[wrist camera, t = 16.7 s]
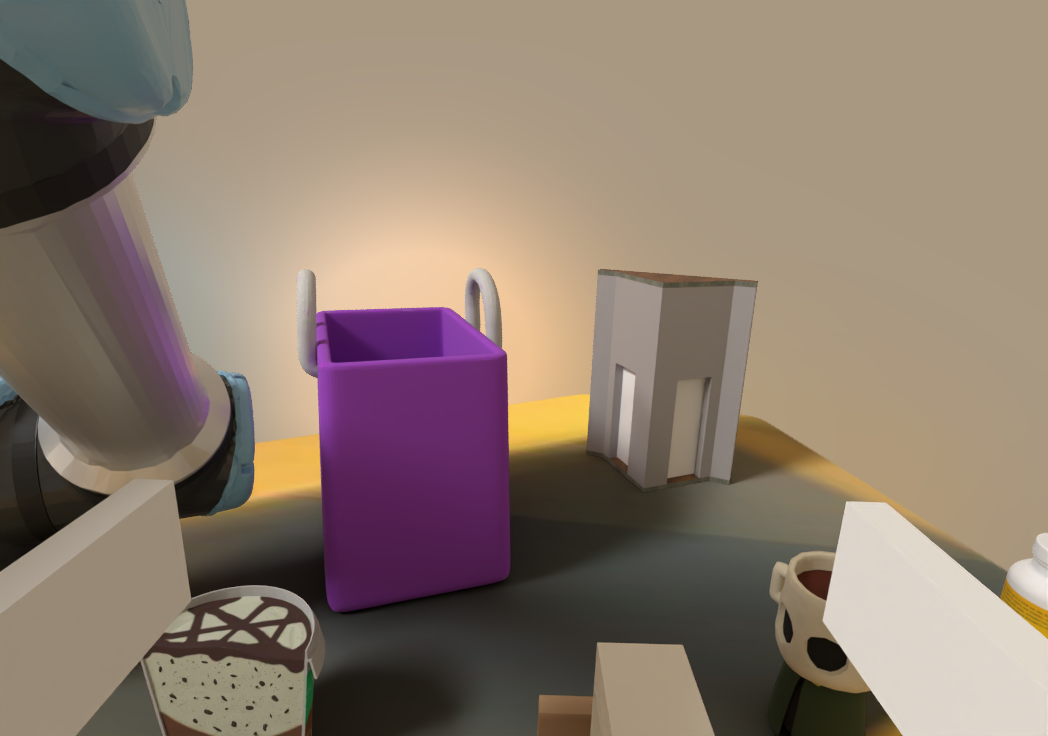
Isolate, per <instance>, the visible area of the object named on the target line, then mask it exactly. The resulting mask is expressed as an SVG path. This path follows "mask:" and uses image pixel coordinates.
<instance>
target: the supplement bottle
mask: <svg viewBox="0 0 1048 736" xmlns="http://www.w3.org/2000/svg"><path fill="white" fill-rule="evenodd" d="M1032 551H1033V556H1034V558H1033V559H1032V558H1031V559H1024V560H1020V561H1018V562H1016V563H1014V564H1013V565H1012V566H1011V567H1010V569H1009V570H1008V574H1007V577H1006V580H1005V583H1004V586H1003V590H1002V593H1001V596H1000V599H1001V600H1002V601H1003V602H1004V603H1006V604H1007V605H1008V606H1009V607H1010V608H1011V609H1013V610H1014V611H1015V612H1016V613H1017V614H1019V615H1020V616H1021V617H1022V618H1023V619H1025V620H1026V621H1027V622H1028V623H1029V624H1030V625H1032V626H1033V627H1034V628H1035V629H1036V630H1038V631H1039V632H1040V633H1041V634H1042V635H1044V636H1045V637H1046V638H1047V639H1048V533H1043V534H1040V535H1038V536H1037V537H1036V540H1035V543H1034V545H1033V548H1032Z"/></svg>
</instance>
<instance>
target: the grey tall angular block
mask: <svg viewBox="0 0 1048 736" xmlns="http://www.w3.org/2000/svg"><path fill="white" fill-rule="evenodd" d="M757 283H758V281H750V280H737V279H724V278H723V279H722V278H711V277H698V276H685V275H672V274H659V273H646V272H633V271H620V270H607V269H600V270H598V280H597V296H596V312H595V329H594V344H593V360H592V376H591V392H590V407H589V423H588V439H587V454H589V455H594V456H598V457H603V458H604V459H605V460H607V461H608V462H609V463H610V464H611V465H612V466H613V467H615V468H616V469H617V470H618V471H619V472H620V473H621V474H623V475H624V476H625V477H626V478H627V479H628V480H629V481H631V482H632V483H633V484H634V485H635V486H636V487H638V488H639V489H640V490H641V491H642V492H643V493H644V492H650V491H655V490H661V489H666V488H672V487H677V486H683V485H688V484H694V483H699V482H705V481H713V482H718V483H723V484H727V485H729V483H730V479H731V472H732V465H733V457H734V450H735V443H736V436H737V428H738V421H739V414H740V407H741V399H742V392H743V385H744V377H745V371H746V363H747V356H748V349H749V342H750V334H751V327H752V319H753V313H754V305H755V298H756V291H757Z"/></svg>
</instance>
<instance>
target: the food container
mask: <svg viewBox="0 0 1048 736" xmlns="http://www.w3.org/2000/svg"><path fill="white" fill-rule="evenodd" d="M324 658H325V641H324V637H323V633H322V631H321V628H320V625H319V622H318V620H317V618H316V616H315V614H314V612H313V611H312V610H311V609H310V607H309V605H308V604H307V603H306V602H305V601H304V600H303V599H302V598H300V597H299V596H298V595H296V594H294V593H292V592H290V591H288V590H284V589H281V588H277V587H271V586H259V585H250V586H237V587H231V588H225V589H221V590H216V591H212V592H209V593H206V594H202V595H199V596H196V597H194V598H191V602H190V603H189V604H188V605H187V606H186V607H185V609H184V610H183V611H182V612H181V613H180V614H179V616H178V617H177V618H176V619H175V620H174V621H173V623H172V624H171V625H170V626H169V627H168V628H167V630H166V631H165V632H164V633H163V634H162V635H161V637H160V638H159V639H158V640H157V641H156V642H155V644H154V645H153V646H152V647H151V648H150V649H149V651H148V652H147V653H146V654H145V655H144V656H143V658H142V659H141V660H140V662H141V665H142V669H143V672H144V675H145V679H146V682H147V685H148V689H149V692H150V695H151V699H152V702H153V705H154V709H155V712H156V715H157V719H158V722H159V725H160V729H161V732H162V735H163V736H312V713H313V688H314V678H315V679H317V678H318V676H319V674H320V671H321V669H322V666H323V662H324Z"/></svg>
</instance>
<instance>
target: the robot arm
mask: <svg viewBox="0 0 1048 736" xmlns="http://www.w3.org/2000/svg"><path fill="white" fill-rule="evenodd" d="M192 75H193V58H192V47H191V40H190V30H189V20H188V14H187V8H186V2H185V0H0V736H76V735H77V734H78V732H79V731H80V730H81V729H82V728H83V727H84V725H85V724H86V723H87V722H88V721H89V719H90V718H91V717H92V716H93V715H94V714H95V712H96V711H97V710H98V709H99V708H100V707H101V705H102V704H103V703H104V702H105V701H106V700H107V698H108V697H109V696H110V695H111V694H112V693H113V691H114V690H115V689H116V688H117V687H118V686H119V684H120V683H121V682H122V681H123V680H124V679H125V677H126V676H127V675H128V674H129V673H130V672H131V670H132V669H133V668H134V667H135V666H136V665H137V663H138V662H139V661H140V660H141V659H142V658H143V656H144V655H145V654H146V653H147V652H148V651H149V649H150V648H151V647H152V646H153V645H154V644H155V642H156V641H157V640H158V639H159V638H160V637H161V635H162V634H163V633H164V632H165V631H166V630H167V628H168V627H169V626H170V625H171V624H172V623H173V621H174V620H175V619H176V618H177V617H178V616H179V614H180V613H181V612H182V611H183V610H184V609H185V607H186V606H187V605H188V604H189V603H190V602H191V594H190V587H189V581H188V574H187V567H186V561H185V554H184V547H183V541H182V534H181V527H180V521H179V519H181V518H187V517H193V516H211V515H214V514H216V513H217V512H220V511H225V510H229V509H233V508H237V507H239V506H241V505H243V504H244V503H245V502H246V501H247V500H248V499H249V497H250V495H251V493H252V490H253V483H254V463H253V461H254V453H255V442H254V421H253V409H252V400H251V393H250V388H249V386H248V382H247V380H246V378H245V377H244V376H243V375H241V374H239V373H228V372H226V371H215V370H214V369H213V368H212V367H211V366H210V365H209V364H208V363H207V362H206V361H204V360H203V359H202V358H200V357H198V356H197V355H195V354H193V353H191V352H190V349H189V346H188V343H187V340H186V337H185V334H184V331H183V328H182V325H181V322H180V319H179V316H178V313H177V310H176V307H175V304H174V301H173V298H172V294H171V292H170V288H169V285H168V282H167V279H166V276H165V273H164V270H163V267H162V265H161V261H160V258H159V255H158V252H157V249H156V246H155V243H154V240H153V237H152V234H151V231H150V228H149V225H148V222H147V219H146V216H145V213H144V210H143V207H142V204H141V201H140V198H139V195H138V191H137V189H136V185H135V182H134V179H133V176H132V173H131V172H132V171H133V169H134V168H135V167H136V166H137V165H138V164H139V162H140V161H141V159H142V158H143V156H144V155H145V153H146V151H147V150H148V148H149V145H150V143H151V140H152V137H153V135H154V132H155V125H156V117H157V116H158V115H160V116H169V115H172V114H174V113H177V112H178V111H179V110H180V109H181V108H182V107H183V106H184V105H185V104H186V103H187V101H188V99H189V96H190V93H191V89H192ZM823 622H824V624H825V625H826V627H827V628H828V629H829V631H830V632H831V634H832V635H833V637H834V638H835V640H836V641H837V642H838V644H839V645H840V647H841V648H842V650H843V651H844V652H845V654H846V655H847V657H848V658H849V660H850V661H851V662H852V664H853V665H854V667H855V668H856V670H857V671H858V672H859V674H860V675H861V677H862V678H863V680H864V681H865V682H866V684H867V685H868V687H869V688H870V690H871V691H872V692H873V694H874V695H875V697H876V698H877V700H878V701H879V703H880V704H881V705H882V707H883V708H884V710H885V711H886V713H887V714H888V715H889V717H890V718H891V720H892V721H893V723H894V724H895V725H896V727H897V728H898V730H899V731H900V733H901V734H902V735H903V736H1048V639H1047V638H1046V637H1045V636H1044V635H1042V634H1041V633H1040V632H1039V631H1038V630H1036V629H1035V628H1034V627H1033V626H1032V625H1030V624H1029V623H1028V622H1027V621H1026V620H1025V619H1023V618H1022V617H1021V616H1020V615H1019V614H1017V613H1016V612H1015V611H1014V610H1013V609H1011V608H1010V607H1009V606H1008V605H1007V604H1006V603H1004V602H1003V601H1002V600H1001V599H1000V598H998V597H997V596H996V595H995V594H994V593H992V592H991V591H990V590H989V589H988V588H987V587H985V586H984V585H983V584H982V583H981V582H979V581H978V580H977V579H976V578H975V577H974V576H972V575H971V574H970V573H969V572H968V571H966V570H965V569H964V568H963V567H962V566H960V565H959V564H958V563H957V562H956V561H955V560H953V559H952V558H951V557H950V556H949V555H947V554H946V553H945V552H944V551H943V550H941V549H940V548H939V547H938V546H937V545H936V544H934V543H933V542H932V541H931V540H930V539H928V538H927V537H926V536H925V535H924V534H922V533H921V532H920V531H919V530H918V529H917V528H915V527H914V526H913V525H912V524H911V523H909V522H908V521H907V520H906V519H905V518H904V517H902V516H901V515H900V514H899V513H898V512H896V511H895V510H894V509H893V508H892V507H890V506H889V505H888V504H887V503H879V502H846V507H845V512H844V517H843V522H842V526H841V531H840V536H839V541H838V546H837V551H836V556H835V561H834V566H833V571H832V576H831V581H830V586H829V591H828V596H827V601H826V606H825V611H824V616H823Z"/></svg>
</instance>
